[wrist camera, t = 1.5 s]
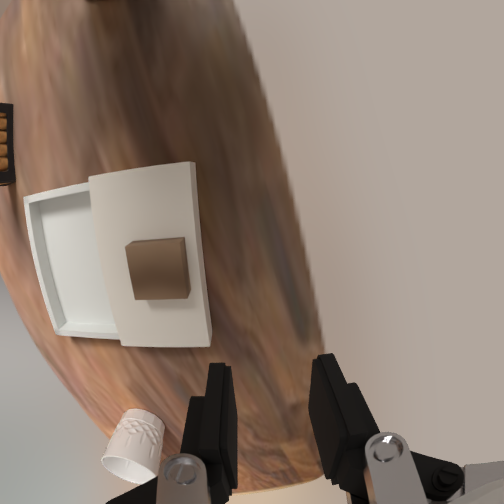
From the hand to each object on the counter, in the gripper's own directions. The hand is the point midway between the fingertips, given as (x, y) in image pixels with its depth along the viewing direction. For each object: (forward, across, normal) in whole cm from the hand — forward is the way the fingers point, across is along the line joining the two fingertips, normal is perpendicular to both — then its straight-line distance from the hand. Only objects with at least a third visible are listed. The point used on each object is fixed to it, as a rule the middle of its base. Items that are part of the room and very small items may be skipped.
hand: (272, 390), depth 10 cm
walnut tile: (+16, +8, 0) cm, 18 cm away
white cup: (+19, +18, +26) cm, 37 cm away
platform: (+19, +10, 0) cm, 22 cm away
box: (+19, +20, 0) cm, 28 cm away
